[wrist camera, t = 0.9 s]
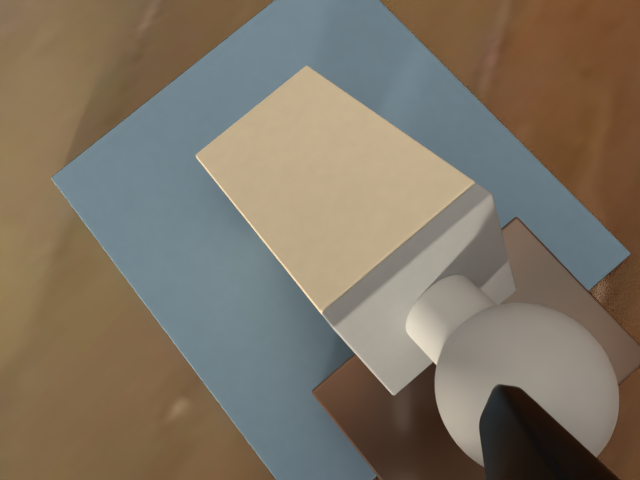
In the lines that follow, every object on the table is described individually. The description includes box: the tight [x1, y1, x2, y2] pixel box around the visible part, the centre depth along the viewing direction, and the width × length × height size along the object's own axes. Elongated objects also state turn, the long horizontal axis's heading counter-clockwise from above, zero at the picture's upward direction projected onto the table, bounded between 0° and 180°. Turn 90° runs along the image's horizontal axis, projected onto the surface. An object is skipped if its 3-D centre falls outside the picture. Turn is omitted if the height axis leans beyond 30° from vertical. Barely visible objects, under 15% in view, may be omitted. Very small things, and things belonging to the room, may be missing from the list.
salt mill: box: [196, 66, 619, 467], centre depth 17 cm, size 14×5×10 cm, turn 40°
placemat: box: [51, 0, 630, 480], centre depth 23 cm, size 18×16×1 cm
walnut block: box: [312, 217, 640, 480], centre depth 19 cm, size 6×9×4 cm, turn 130°
